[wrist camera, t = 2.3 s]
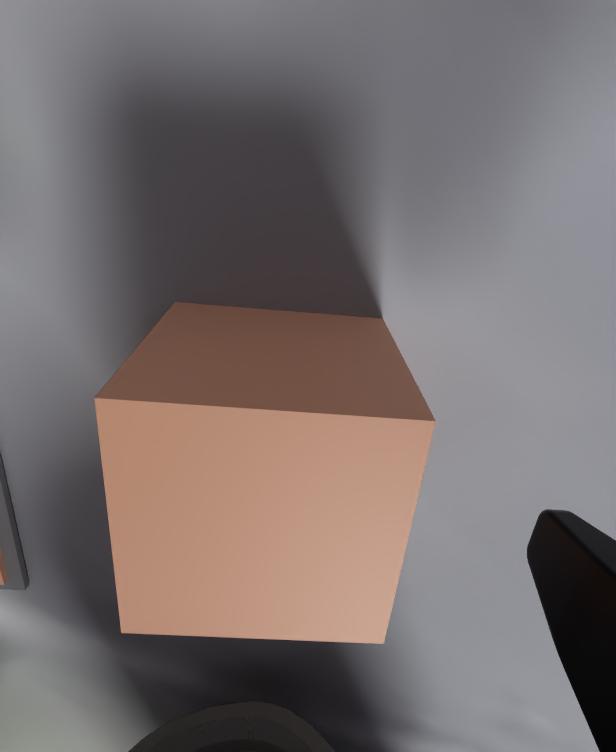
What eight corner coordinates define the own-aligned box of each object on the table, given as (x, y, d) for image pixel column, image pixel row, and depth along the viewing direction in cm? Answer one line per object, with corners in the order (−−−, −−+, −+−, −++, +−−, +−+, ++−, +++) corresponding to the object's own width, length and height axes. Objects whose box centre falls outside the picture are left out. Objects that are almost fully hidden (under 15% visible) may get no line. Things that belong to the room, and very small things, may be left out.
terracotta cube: (381, 317, 10) (435, 421, 6) (355, 482, 12) (384, 644, 8) (175, 300, 10) (93, 397, 6) (181, 471, 12) (121, 633, 8)
